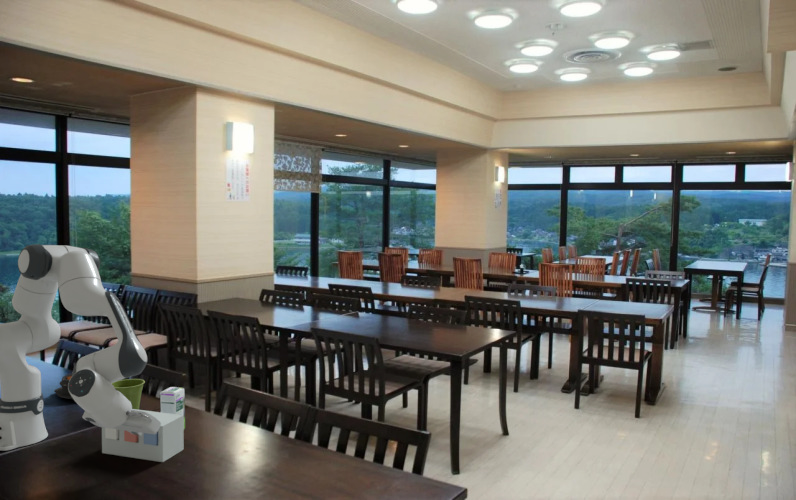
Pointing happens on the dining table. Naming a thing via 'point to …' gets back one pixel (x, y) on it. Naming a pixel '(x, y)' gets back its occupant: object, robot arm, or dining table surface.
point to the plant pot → (130, 390)
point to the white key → (111, 433)
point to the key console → (165, 449)
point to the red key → (130, 437)
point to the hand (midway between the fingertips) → (138, 432)
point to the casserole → (64, 387)
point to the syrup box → (173, 401)
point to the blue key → (151, 439)
